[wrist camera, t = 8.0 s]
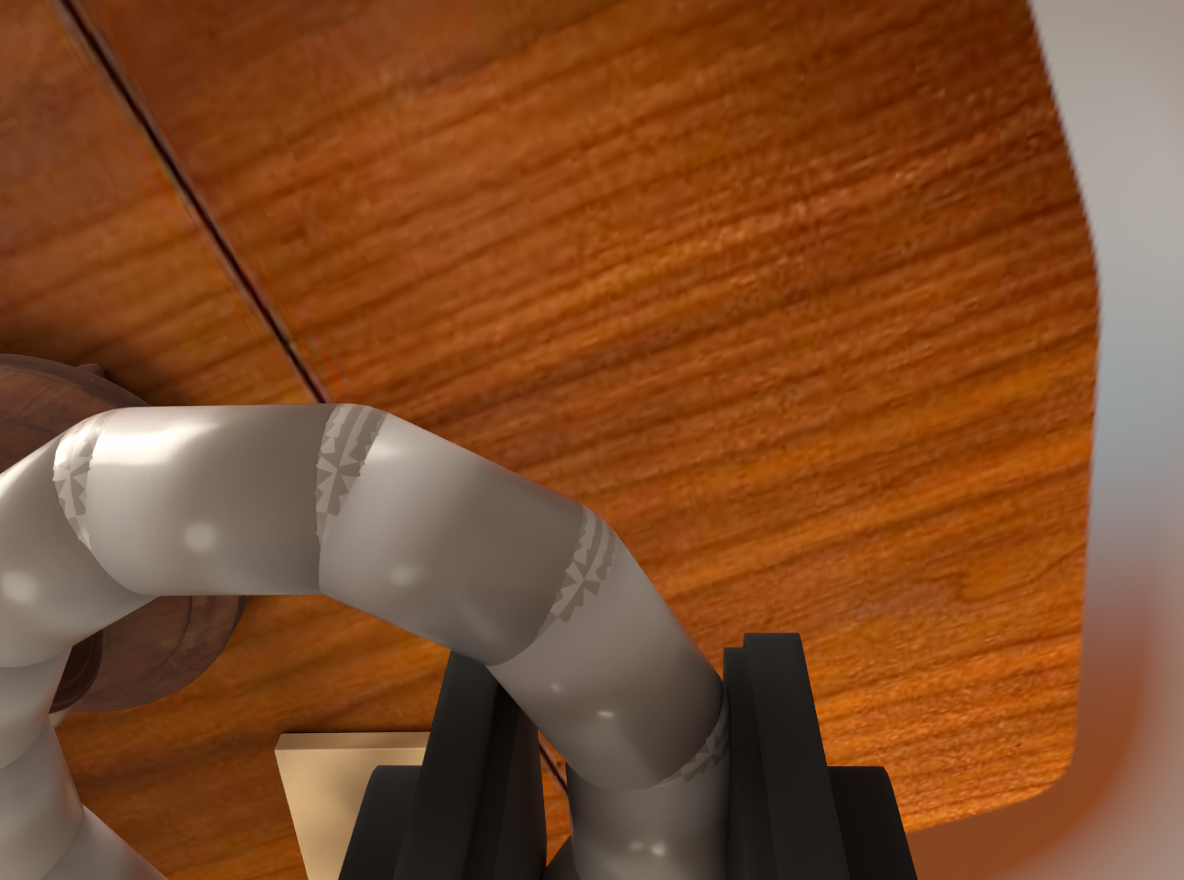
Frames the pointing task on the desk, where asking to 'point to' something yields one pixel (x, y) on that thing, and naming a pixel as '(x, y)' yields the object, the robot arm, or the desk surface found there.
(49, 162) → the desk surface
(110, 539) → the ring
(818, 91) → the desk surface
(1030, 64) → the desk surface
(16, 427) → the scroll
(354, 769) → the wooden peg stand
